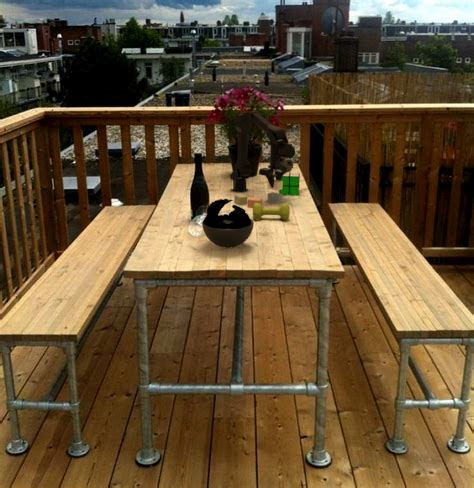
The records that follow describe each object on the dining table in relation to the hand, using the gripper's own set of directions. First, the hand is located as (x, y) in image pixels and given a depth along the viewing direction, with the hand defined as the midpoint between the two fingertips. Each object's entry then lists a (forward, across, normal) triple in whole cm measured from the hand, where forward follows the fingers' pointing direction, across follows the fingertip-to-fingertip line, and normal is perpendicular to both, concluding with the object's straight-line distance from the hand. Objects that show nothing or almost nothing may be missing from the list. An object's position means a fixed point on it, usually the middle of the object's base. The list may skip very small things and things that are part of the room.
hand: (275, 186), depth 308 cm
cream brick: (+1, 0, 0) cm, 1 cm away
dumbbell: (+8, -24, -17) cm, 31 cm away
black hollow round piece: (+8, -64, -28) cm, 70 cm away
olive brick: (+8, -14, +10) cm, 19 cm away
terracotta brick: (+8, -14, +1) cm, 16 cm away
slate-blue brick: (+8, 0, 0) cm, 8 cm away
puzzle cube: (+8, +18, +5) cm, 20 cm away
